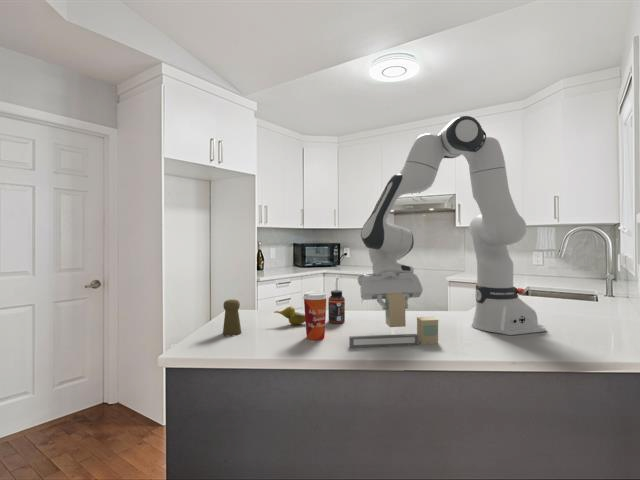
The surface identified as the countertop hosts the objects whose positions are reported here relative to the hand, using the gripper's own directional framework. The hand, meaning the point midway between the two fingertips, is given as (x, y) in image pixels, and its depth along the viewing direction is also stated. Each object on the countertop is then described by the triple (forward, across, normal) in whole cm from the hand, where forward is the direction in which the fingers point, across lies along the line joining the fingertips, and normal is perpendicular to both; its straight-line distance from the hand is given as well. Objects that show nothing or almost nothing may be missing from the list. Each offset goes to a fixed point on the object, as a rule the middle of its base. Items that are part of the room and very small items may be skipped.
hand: (395, 308), depth 118 cm
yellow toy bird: (-6, -32, +18) cm, 37 cm away
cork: (0, -53, +12) cm, 54 cm away
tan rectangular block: (+3, 0, +4) cm, 5 cm away
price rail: (+13, -6, -1) cm, 15 cm away
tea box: (+11, +7, +1) cm, 14 cm away
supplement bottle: (-7, -17, +19) cm, 26 cm away
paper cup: (+6, -26, +6) cm, 27 cm away
